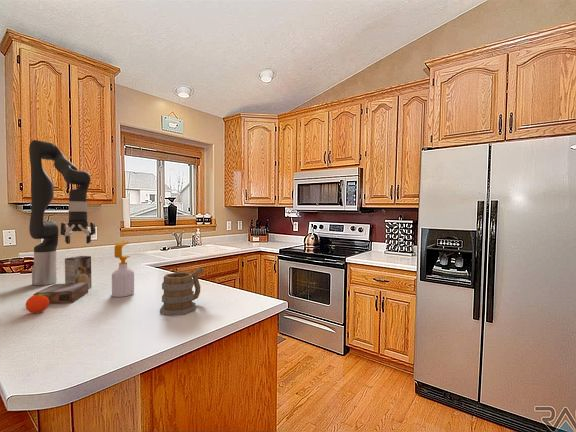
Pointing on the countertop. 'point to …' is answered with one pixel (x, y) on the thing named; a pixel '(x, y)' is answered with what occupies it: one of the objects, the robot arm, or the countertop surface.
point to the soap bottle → (122, 275)
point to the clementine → (37, 303)
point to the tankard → (180, 292)
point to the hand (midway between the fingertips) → (78, 243)
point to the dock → (64, 292)
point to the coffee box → (78, 270)
